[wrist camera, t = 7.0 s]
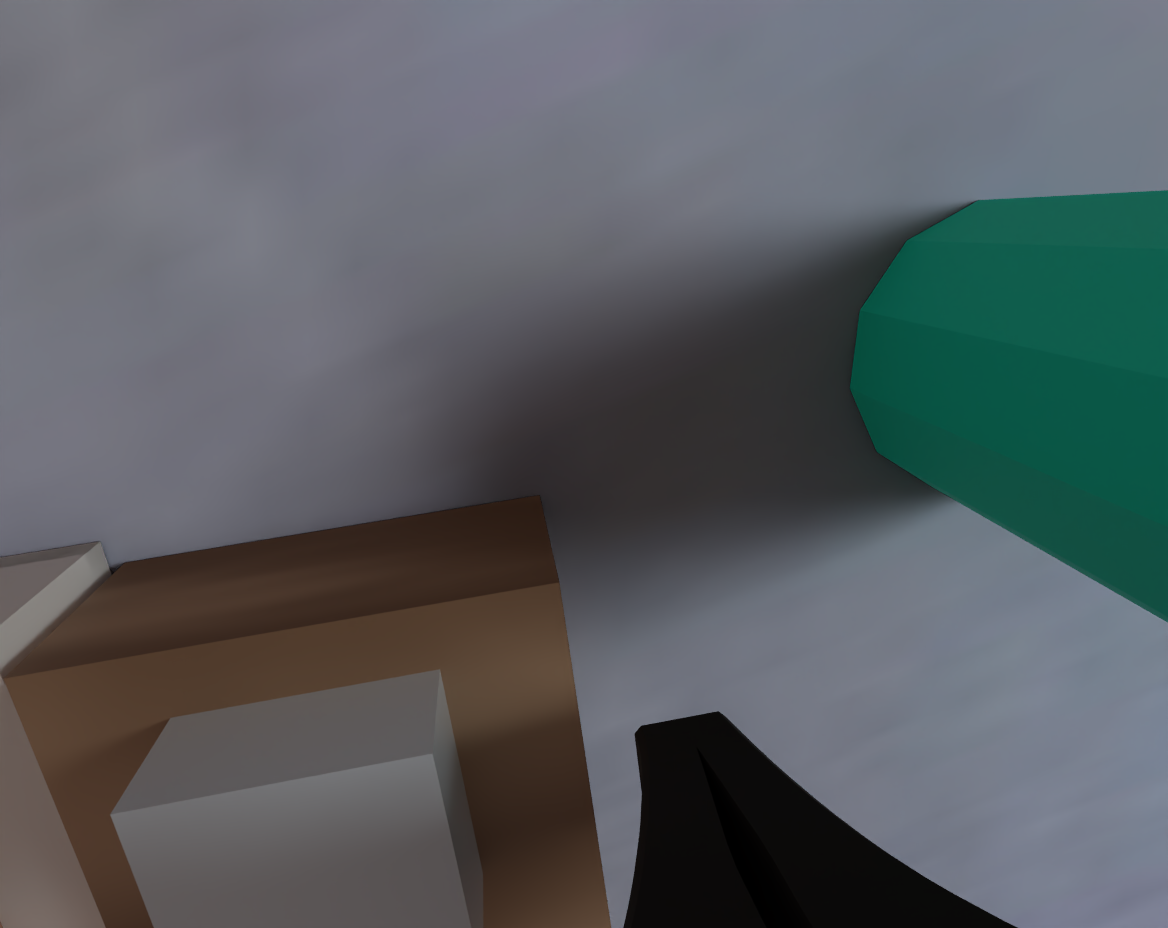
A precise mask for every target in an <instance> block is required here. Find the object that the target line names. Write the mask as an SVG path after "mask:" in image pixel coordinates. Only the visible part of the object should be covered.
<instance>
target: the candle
mask: <svg viewBox="0 0 1168 928" xmlns="http://www.w3.org/2000/svg"><path fill="white" fill-rule="evenodd" d="M850 390H851V392H852V395H853V397H854V399H855V402H856V404H857V407H858V409H859V411H860V414H861V416H862V418H863V421H864V423H865V425H866V428H867V430H868V432H869V435H870V437H871V439H872V442H873V444H874V447H875V449H876V451H877V452H878V453H879V454H881V455H882V456H884V457H886V458H887V459H889V460H890V461H892V462H893V463H895V464H897V465H898V466H900V467H901V468H903V469H904V470H906V471H908V472H909V473H911V474H912V475H914V476H915V477H917V478H919V479H920V480H922V481H923V482H925V483H927V484H928V485H930V486H931V487H933V488H935V489H937V490H938V491H940V492H942V493H943V494H945V495H947V496H949V497H950V498H952V499H954V500H956V501H957V502H959V503H961V504H963V505H964V506H966V507H968V508H970V509H971V510H973V511H975V512H977V513H978V514H980V515H982V516H983V517H985V518H987V519H989V520H990V521H992V522H994V523H996V524H997V525H999V526H1001V527H1003V528H1004V529H1006V530H1008V531H1010V532H1011V533H1013V534H1015V535H1017V536H1018V537H1020V538H1022V539H1024V540H1025V541H1027V542H1029V543H1030V544H1032V545H1034V546H1036V547H1037V548H1039V549H1041V550H1043V551H1044V552H1046V553H1048V554H1050V555H1051V556H1053V557H1055V558H1057V559H1058V560H1060V561H1062V562H1064V563H1065V564H1067V565H1069V566H1070V567H1072V568H1074V569H1076V570H1077V571H1079V572H1081V573H1083V574H1084V575H1086V576H1088V577H1090V578H1091V579H1093V580H1095V581H1097V582H1098V583H1100V584H1102V585H1104V586H1105V587H1107V588H1109V589H1111V590H1112V591H1114V592H1116V593H1117V594H1119V595H1121V596H1123V597H1124V598H1126V599H1128V600H1130V601H1131V602H1133V603H1135V604H1137V605H1138V606H1140V607H1142V608H1144V609H1145V610H1147V611H1149V612H1151V613H1152V614H1154V615H1156V616H1157V617H1159V618H1161V619H1163V620H1164V621H1166V622H1168V190H1166V191H1147V192H1128V193H1109V194H1090V195H1070V196H1051V197H1032V198H1013V199H994V200H978V201H976V202H975V203H973V204H971V205H969V206H967V207H966V208H964V209H962V210H960V211H958V212H957V213H955V214H953V215H951V216H950V217H948V218H946V219H944V220H942V221H941V222H939V223H937V224H935V225H934V226H932V227H930V228H928V229H926V230H925V231H923V232H921V233H919V234H917V235H916V236H914V237H912V238H910V239H909V240H907V241H906V243H905V244H904V246H903V247H902V248H901V250H900V251H899V253H898V254H897V256H896V257H895V259H894V260H893V262H892V263H891V265H890V266H889V268H888V269H887V271H886V272H885V274H884V275H883V277H882V278H881V280H880V281H879V283H878V284H877V286H876V287H875V289H874V290H873V292H872V293H871V295H870V296H869V298H868V299H867V301H866V302H865V303H864V305H863V306H862V308H861V309H860V313H859V320H858V328H857V336H856V344H855V352H854V359H853V367H852V375H851V383H850Z"/></svg>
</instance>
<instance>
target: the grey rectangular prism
mask: <svg viewBox="0 0 1168 928" xmlns="http://www.w3.org/2000/svg"><path fill="white" fill-rule="evenodd" d="M110 816H111V818H112V821H113V823H114V826H115V829H116V831H117V834H118V836H119V839H120V842H121V844H122V847H123V849H124V852H125V854H126V857H127V860H128V862H129V865H130V867H131V870H132V873H133V875H134V878H135V880H136V883H137V885H138V888H139V891H140V893H141V896H142V898H143V901H144V904H145V906H146V909H147V911H148V914H149V917H150V919H151V922H152V924H153V927H154V928H483V872H482V867H481V862H480V857H479V853H478V848H477V843H476V838H475V834H474V829H473V824H472V819H471V815H470V810H469V805H468V800H467V796H466V791H465V786H464V781H463V777H462V772H461V767H460V762H459V758H458V753H457V748H456V743H455V739H454V734H453V729H452V724H451V720H450V715H449V710H448V705H447V701H446V696H445V691H444V686H443V682H442V677H441V672H440V669H439V670H433V671H428V672H422V673H417V674H411V675H406V676H400V677H395V678H389V679H383V680H378V681H372V682H367V683H361V684H356V685H350V686H345V687H339V688H334V689H328V690H322V691H317V692H311V693H306V694H300V695H295V696H289V697H284V698H278V699H273V700H267V701H261V702H256V703H250V704H245V705H239V706H234V707H228V708H223V709H217V710H212V711H206V712H200V713H195V714H189V715H184V716H178V717H173V718H170V720H169V721H168V723H167V724H166V726H165V728H164V729H163V731H162V732H161V734H160V736H159V737H158V739H157V740H156V742H155V744H154V745H153V747H152V748H151V750H150V752H149V753H148V755H147V756H146V758H145V760H144V761H143V763H142V764H141V766H140V768H139V769H138V771H137V772H136V774H135V776H134V777H133V779H132V780H131V782H130V784H129V785H128V787H127V788H126V790H125V792H124V793H123V795H122V796H121V798H120V800H119V801H118V803H117V804H116V806H115V808H114V809H113V811H112V812H111V814H110Z"/></svg>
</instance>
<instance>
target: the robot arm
mask: <svg viewBox="0 0 1168 928" xmlns="http://www.w3.org/2000/svg"><path fill="white" fill-rule="evenodd" d="M635 741H636V749H637V757H638V765H639V773H640V781H641V789H642V803H641V822H640V834H639V842H638V849H637V856H636V864H635V871H634V878H633V884H632V889H631V895H630V900H629V905H628V910H627V914H626V919H625V923H624V928H1017V927H1015V926H1013V925H1011V924H1009V923H1007V922H1005V921H1003V920H1001V919H999V918H997V917H995V916H994V915H992V914H990V913H988V912H986V911H984V910H983V909H981V908H979V907H977V906H975V905H973V904H971V903H970V902H968V901H966V900H964V899H962V898H960V897H959V896H957V895H955V894H953V893H951V892H949V891H948V890H946V889H944V888H943V887H941V886H939V885H937V884H936V883H934V882H932V881H931V880H929V879H927V878H926V877H924V876H922V875H921V874H919V873H918V872H916V871H914V870H913V869H911V868H910V867H908V866H907V865H905V864H904V863H902V862H900V861H899V860H897V859H896V858H894V857H893V856H891V855H890V854H888V853H887V852H885V851H884V850H882V849H881V848H879V847H878V846H877V845H875V844H874V843H872V842H871V841H870V840H868V839H867V838H865V837H864V836H863V835H861V834H860V833H859V832H857V831H856V830H855V829H853V828H852V827H851V826H849V825H848V824H847V823H845V822H844V821H843V820H841V819H840V818H839V817H837V816H836V815H835V814H834V813H832V812H831V811H830V810H829V809H827V808H826V807H825V806H824V805H822V804H821V803H820V802H819V801H817V800H816V799H815V798H814V797H813V796H811V795H810V794H809V793H808V792H807V791H805V790H804V789H803V788H802V787H801V786H800V785H798V784H797V783H796V782H795V781H794V780H793V779H791V778H790V777H789V776H788V775H787V774H786V773H784V772H783V771H782V770H781V769H780V768H779V767H778V766H777V765H775V764H774V763H773V762H772V761H771V760H770V759H769V758H768V757H767V756H766V755H765V754H764V753H762V752H761V751H760V750H759V749H758V748H757V747H756V746H755V745H754V744H753V743H752V742H751V741H750V740H749V739H748V738H747V737H746V736H745V735H744V734H743V733H742V732H741V731H740V730H738V729H737V728H736V727H735V726H734V725H733V724H732V723H731V722H730V721H729V720H728V719H727V717H725V716H724V715H723V714H721V713H720V712H719V711H717V712H712V713H707V714H702V715H696V716H691V717H686V718H680V719H675V720H670V721H665V722H659V723H654V724H649V725H643V726H641V727H640V728H639V729H638V730H637V731H636V733H635Z"/></svg>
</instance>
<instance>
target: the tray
mask: <svg viewBox="0 0 1168 928" xmlns="http://www.w3.org/2000/svg"><path fill="white" fill-rule="evenodd" d="M111 575H112V574H111V571H110V569H109V566H108V563H107V560H106V557H105V554H104V551H103V548H102V545H101V542H94V543H87V544H81V545H75V546H69V547H63V548H56V549H50V550H44V551H38V552H31V553H25V554H19V555H13V556H6V557H0V922H1V924H2V926H3V928H106V927H105V925H104V922H103V920H102V917H101V915H100V912H99V910H98V908H97V905H96V903H95V900H94V898H93V895H92V893H91V891H90V888H89V886H88V883H87V881H86V878H85V876H84V874H83V871H82V869H81V866H80V864H79V861H78V859H77V857H76V854H75V852H74V849H73V847H72V844H71V842H70V840H69V837H68V835H67V832H66V830H65V827H64V825H63V823H62V820H61V818H60V815H59V813H58V810H57V808H56V806H55V803H54V801H53V798H52V796H51V793H50V791H49V789H48V786H47V784H46V781H45V779H44V776H43V774H42V772H41V769H40V767H39V764H38V762H37V759H36V757H35V755H34V752H33V750H32V747H31V745H30V742H29V740H28V738H27V735H26V733H25V730H24V728H23V725H22V723H21V721H20V718H19V716H18V713H17V711H16V708H15V706H14V704H13V701H12V699H11V696H10V694H9V691H8V689H7V687H6V684H5V682H4V679H3V678H4V677H6V676H7V675H8V674H9V673H10V672H11V671H12V670H13V669H14V668H15V667H16V666H17V665H18V664H19V663H20V662H21V661H22V660H23V659H24V658H25V657H27V656H28V655H29V654H30V653H31V652H32V651H33V650H34V649H35V648H36V647H37V646H38V645H39V644H40V643H41V642H42V641H43V640H44V639H45V638H46V637H47V636H49V635H50V634H51V633H52V632H53V631H54V630H55V629H56V628H57V627H58V626H59V625H60V624H61V623H62V622H63V621H64V620H65V619H66V618H67V617H68V616H69V615H71V614H72V613H73V612H74V611H75V610H76V609H77V608H78V607H79V606H80V605H81V604H82V603H83V602H84V601H85V600H86V599H87V598H88V597H89V596H90V595H91V594H93V593H94V592H95V591H96V590H97V589H98V588H99V587H100V586H101V585H102V584H103V583H104V582H105V581H106V580H107V579H108V578H109V577H110V576H111Z"/></svg>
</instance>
